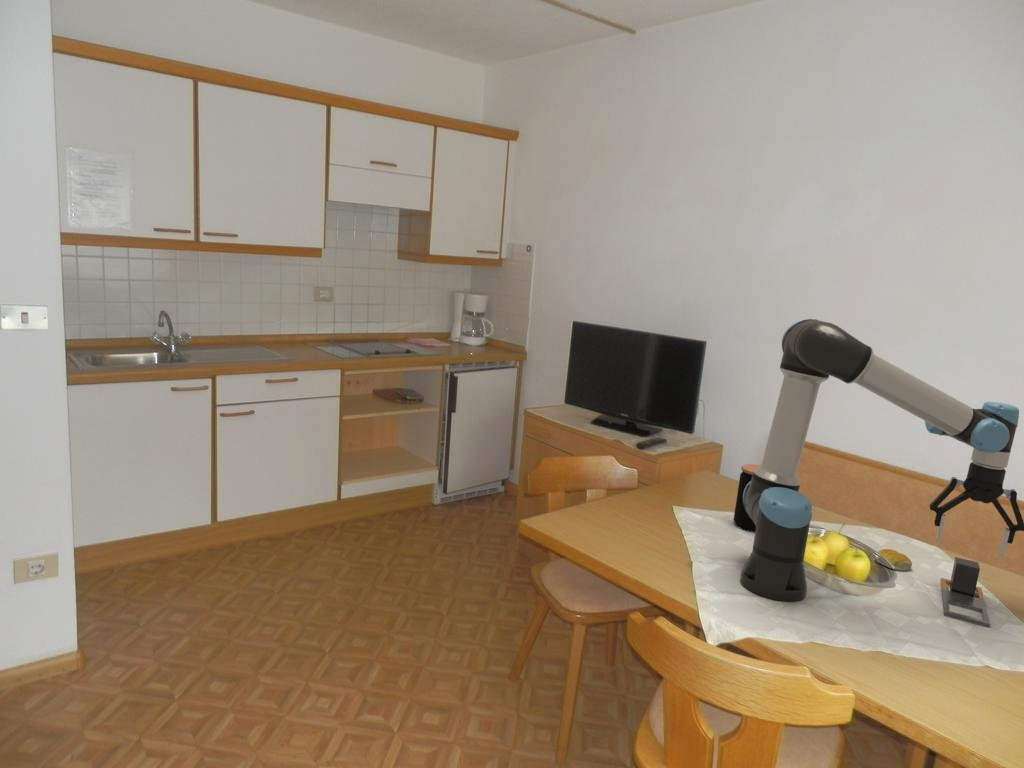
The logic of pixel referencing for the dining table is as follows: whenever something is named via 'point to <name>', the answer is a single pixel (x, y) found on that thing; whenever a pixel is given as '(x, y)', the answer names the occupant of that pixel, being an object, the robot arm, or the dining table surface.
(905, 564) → the bread roll
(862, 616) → the dining table surface
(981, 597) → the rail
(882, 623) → the dining table surface
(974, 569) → the block
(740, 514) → the coffee jar
